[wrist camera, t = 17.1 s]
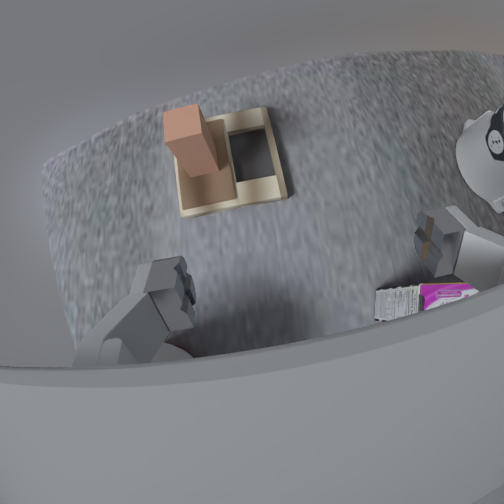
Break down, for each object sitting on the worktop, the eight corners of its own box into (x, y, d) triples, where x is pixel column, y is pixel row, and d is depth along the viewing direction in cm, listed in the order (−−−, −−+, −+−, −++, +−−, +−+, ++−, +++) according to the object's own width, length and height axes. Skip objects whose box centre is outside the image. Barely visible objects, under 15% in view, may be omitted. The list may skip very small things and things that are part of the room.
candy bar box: (436, 286, 43) (499, 280, 27) (436, 318, 43) (498, 324, 26) (373, 287, 44) (420, 281, 28) (372, 321, 44) (419, 332, 27)
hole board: (266, 111, 49) (266, 105, 47) (287, 198, 47) (287, 194, 45) (174, 131, 50) (170, 126, 48) (183, 219, 48) (180, 216, 46)
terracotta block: (215, 145, 47) (197, 103, 35) (219, 171, 46) (201, 133, 34) (187, 152, 47) (163, 112, 35) (190, 177, 47) (165, 142, 35)
